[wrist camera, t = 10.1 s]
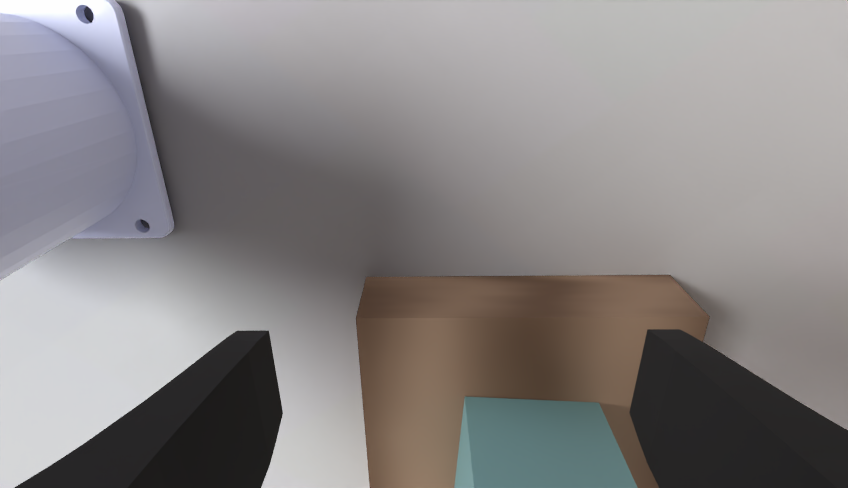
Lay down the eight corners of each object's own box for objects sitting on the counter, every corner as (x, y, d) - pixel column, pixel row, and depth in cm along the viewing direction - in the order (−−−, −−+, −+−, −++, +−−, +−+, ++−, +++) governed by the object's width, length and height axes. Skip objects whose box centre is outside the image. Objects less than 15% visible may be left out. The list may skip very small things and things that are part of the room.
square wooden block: (381, 479, 25) (374, 546, 22) (367, 270, 20) (355, 318, 17) (618, 479, 25) (646, 547, 21) (663, 268, 20) (709, 316, 16)
